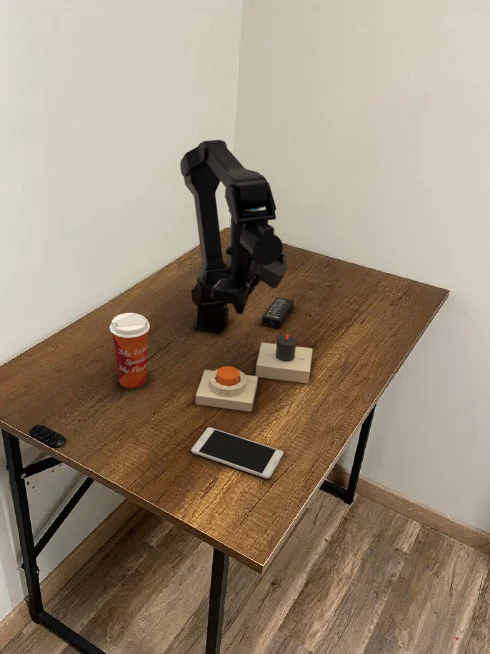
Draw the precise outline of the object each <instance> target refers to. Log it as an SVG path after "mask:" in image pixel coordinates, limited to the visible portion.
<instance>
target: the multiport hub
mask: <svg viewBox="0 0 490 654" xmlns="http://www.w3.org/2000/svg"><path fill="white" fill-rule="evenodd" d="M294 302H295V300H292V299H288V298H284V297H280V296H277V297H276V298H275V299H274V300H273V302H272V303H271V304H270V306H269V307H268V308H267V309H266V311H265V312H264V314H263V315H262V318H261V325H262V326H264V327H268V328H272V329H277V330H279V329H281V327H282V325H283V324H284V323H285V321H286V320H287V319H288V317H289V316H290V314H291V313H292V311H293V310H294V305H295V304H294Z"/></svg>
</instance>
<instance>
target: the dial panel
mask: <svg viewBox="0 0 490 654" xmlns="http://www.w3.org/2000/svg"><path fill="white" fill-rule="evenodd" d="M276 345H277V343H271V342H261V343H260V346H259V347H260V348H259V351H258V356H257V360H256V364H255V373H254V374H255V375H254V376H257V377H258V378H264V379H271V380H278V381H287V382H294V383H303V384H309V382H310V374H311V366H312V359H313V348H311V347H303V346H296V350H295V358H294V359H293V360H292V361H287V362H285V361H280V360H278V359H277V358H276Z"/></svg>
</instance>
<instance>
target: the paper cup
mask: <svg viewBox="0 0 490 654" xmlns="http://www.w3.org/2000/svg"><path fill="white" fill-rule="evenodd" d="M150 325H151V324H150V322H149V320H148V319H147V318H146V317H145V316H144V315H143V314H140V313H136V312H124V313H120V314H118V315H116V316H114V317H113V319H112V320H111V323H110V326H109V331H110V332H111V336H112V342H113V351H114V358H115V363H116V371H117V377H118V381H119V384H120V385H121V387H123V388H129V389H134V388H135V389H136V388H139V387H142V386H143V385H144V384H146V383H147V376H148V375H147V374H148V345H149V344H148V343H149V330H150V328H151V326H150Z"/></svg>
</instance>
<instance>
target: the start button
mask: <svg viewBox="0 0 490 654" xmlns="http://www.w3.org/2000/svg"><path fill="white" fill-rule="evenodd" d="M217 369H218V370H217ZM217 369H216V370H217V382H218V383H219V384H221V385H224V386H233V385H236V384H237V383H238V382H239V371H240V370H239V369H238V368H236V367H234V366H229V365H226V366H221V367H219V368H217Z"/></svg>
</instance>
